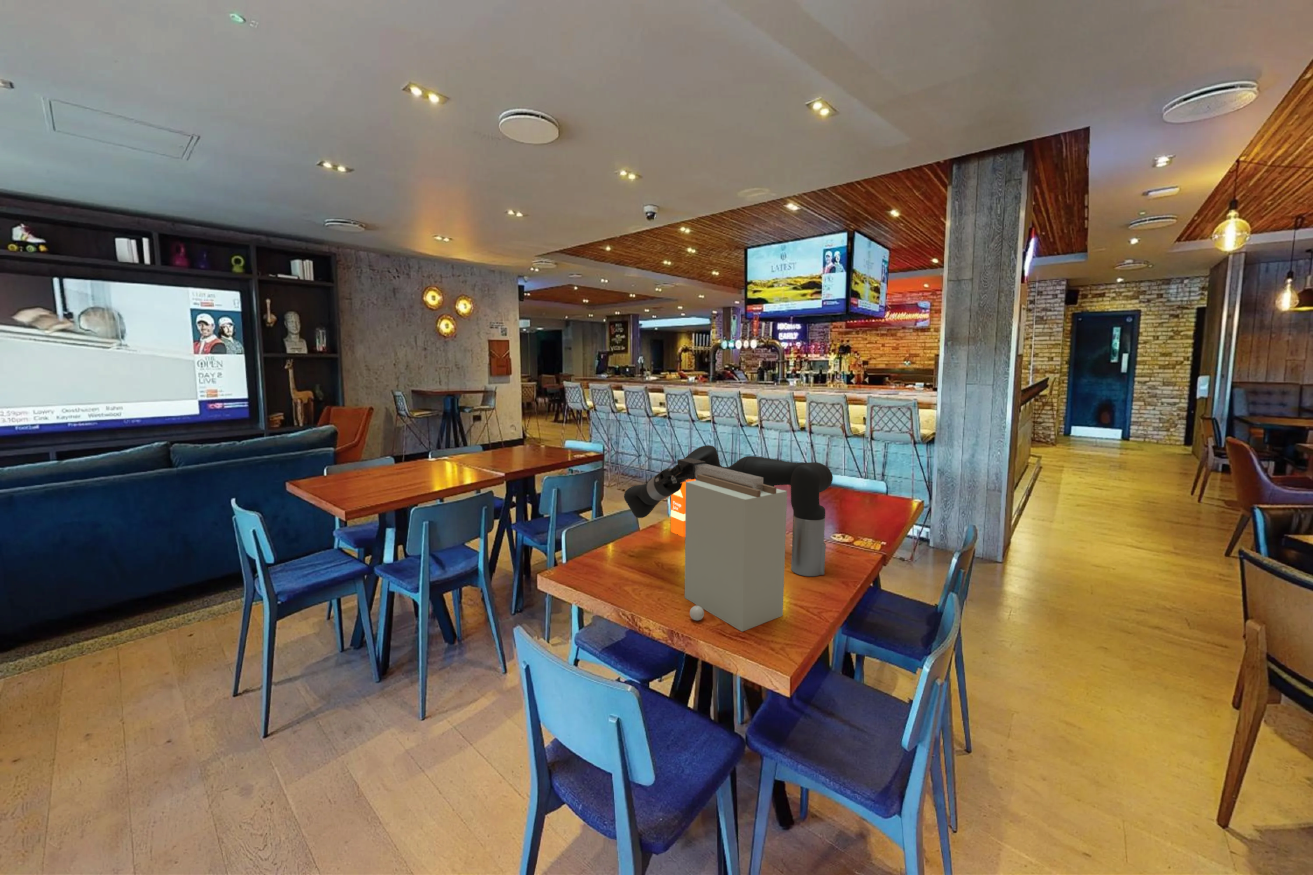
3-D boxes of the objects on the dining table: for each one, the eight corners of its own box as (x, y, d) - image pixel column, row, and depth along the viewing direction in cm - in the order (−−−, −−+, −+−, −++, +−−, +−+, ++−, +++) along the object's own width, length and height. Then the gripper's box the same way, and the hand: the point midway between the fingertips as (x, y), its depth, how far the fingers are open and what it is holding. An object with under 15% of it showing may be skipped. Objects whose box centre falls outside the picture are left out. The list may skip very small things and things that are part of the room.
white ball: (703, 616, 131) (704, 603, 131) (703, 623, 128) (704, 609, 127) (689, 615, 131) (690, 602, 131) (689, 622, 128) (689, 609, 128)
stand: (683, 596, 142) (684, 475, 138) (722, 584, 150) (724, 469, 145) (742, 631, 124) (745, 493, 119) (782, 615, 132) (787, 485, 127)
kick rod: (677, 474, 148) (677, 459, 147) (689, 473, 151) (689, 457, 150) (751, 495, 125) (751, 477, 124) (764, 493, 127) (764, 475, 126)
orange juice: (701, 532, 196) (702, 480, 194) (683, 537, 191) (683, 483, 189) (689, 527, 203) (689, 476, 200) (670, 531, 198) (670, 479, 195)
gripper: (640, 476, 155) (668, 455, 142) (679, 470, 163) (709, 450, 150) (647, 500, 153) (677, 481, 140) (686, 493, 161) (717, 475, 148)
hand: (693, 465), depth 145 cm, fingers open, 8 cm apart
